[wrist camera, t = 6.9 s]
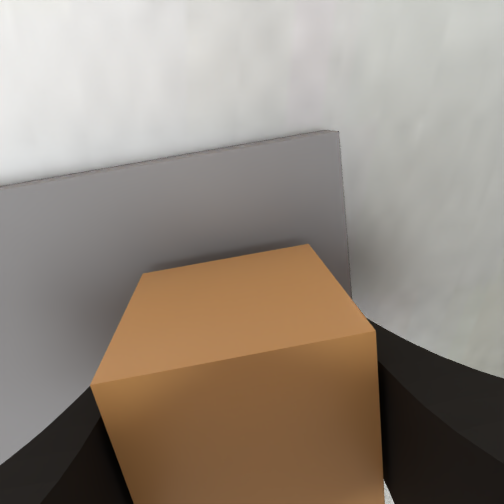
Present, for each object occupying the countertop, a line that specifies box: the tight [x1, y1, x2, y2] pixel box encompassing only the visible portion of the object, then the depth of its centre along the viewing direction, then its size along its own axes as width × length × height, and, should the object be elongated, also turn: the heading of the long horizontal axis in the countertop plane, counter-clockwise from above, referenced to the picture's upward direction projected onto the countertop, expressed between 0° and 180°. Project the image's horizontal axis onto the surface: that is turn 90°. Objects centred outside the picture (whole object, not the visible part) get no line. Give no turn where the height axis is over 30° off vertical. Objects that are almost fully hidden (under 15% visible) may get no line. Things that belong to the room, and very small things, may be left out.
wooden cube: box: [90, 244, 385, 504], centre depth 10 cm, size 5×5×5 cm
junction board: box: [0, 130, 352, 465], centre depth 14 cm, size 14×21×4 cm, turn 9°
